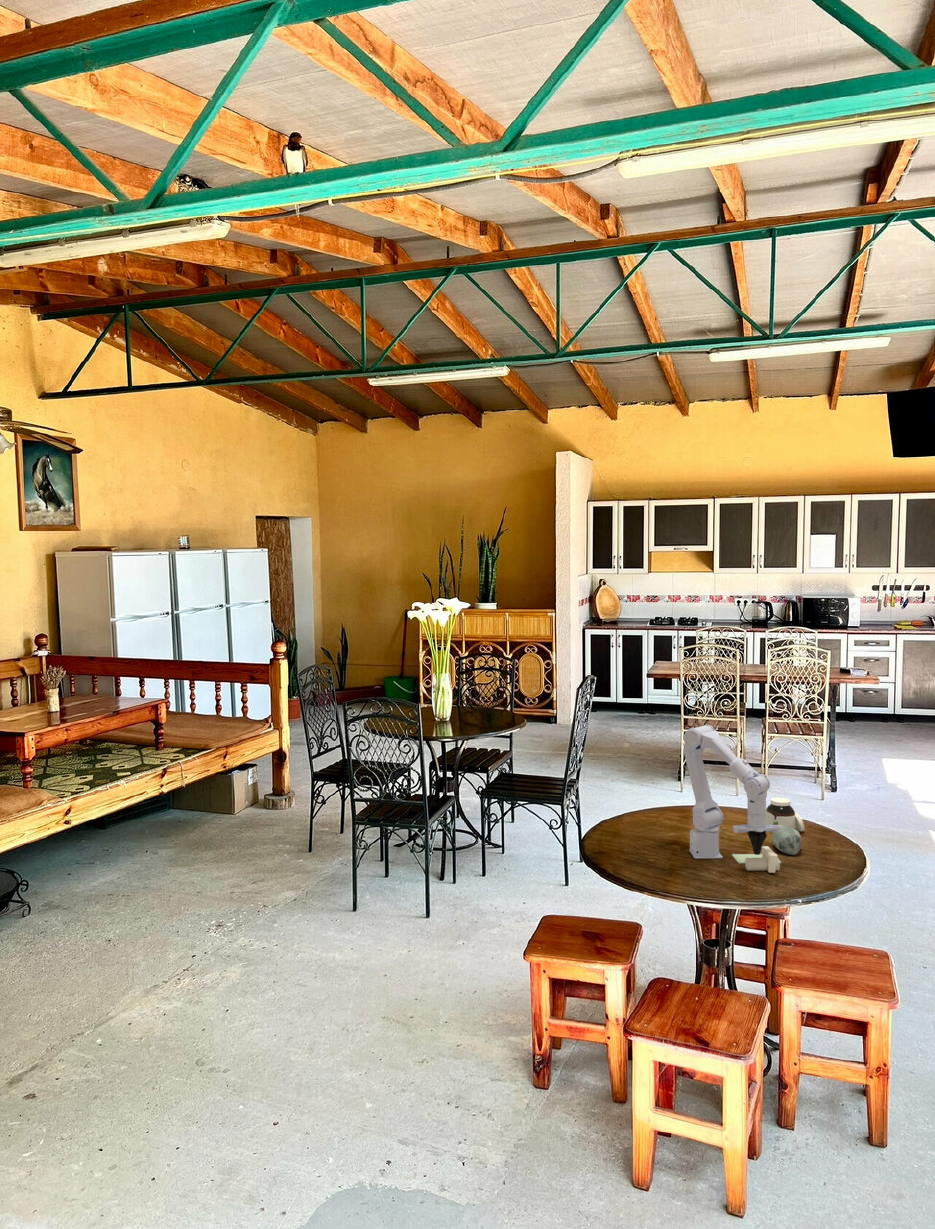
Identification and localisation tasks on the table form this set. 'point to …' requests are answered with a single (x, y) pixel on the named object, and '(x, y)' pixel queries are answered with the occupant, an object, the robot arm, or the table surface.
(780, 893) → the table surface
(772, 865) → the cream flat notched block
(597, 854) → the table surface
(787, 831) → the mottled grey-green ovoid
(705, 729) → the robot arm
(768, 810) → the spread jar
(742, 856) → the mat
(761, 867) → the cylinder
